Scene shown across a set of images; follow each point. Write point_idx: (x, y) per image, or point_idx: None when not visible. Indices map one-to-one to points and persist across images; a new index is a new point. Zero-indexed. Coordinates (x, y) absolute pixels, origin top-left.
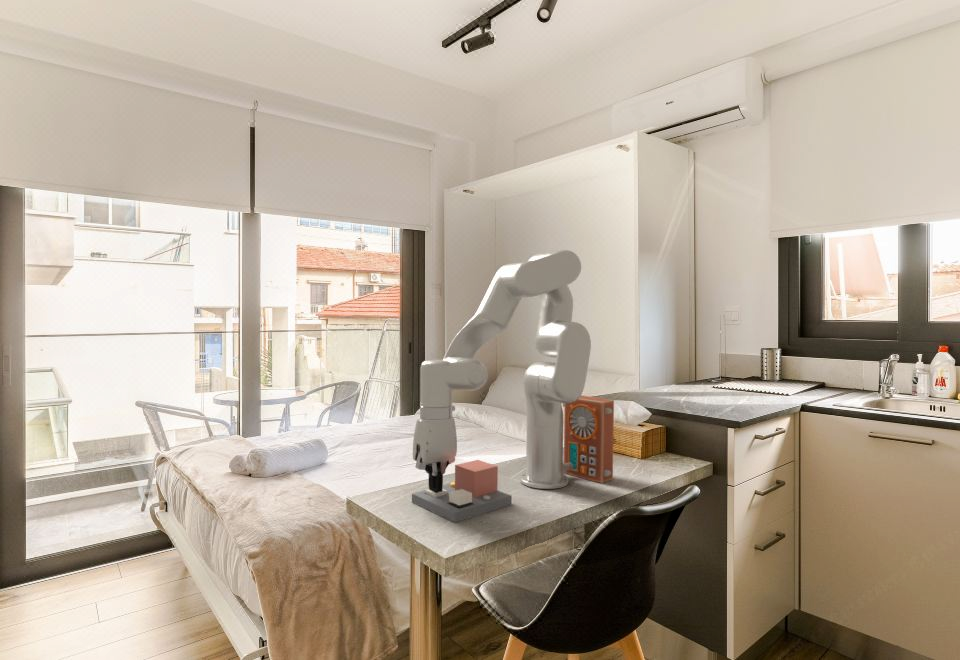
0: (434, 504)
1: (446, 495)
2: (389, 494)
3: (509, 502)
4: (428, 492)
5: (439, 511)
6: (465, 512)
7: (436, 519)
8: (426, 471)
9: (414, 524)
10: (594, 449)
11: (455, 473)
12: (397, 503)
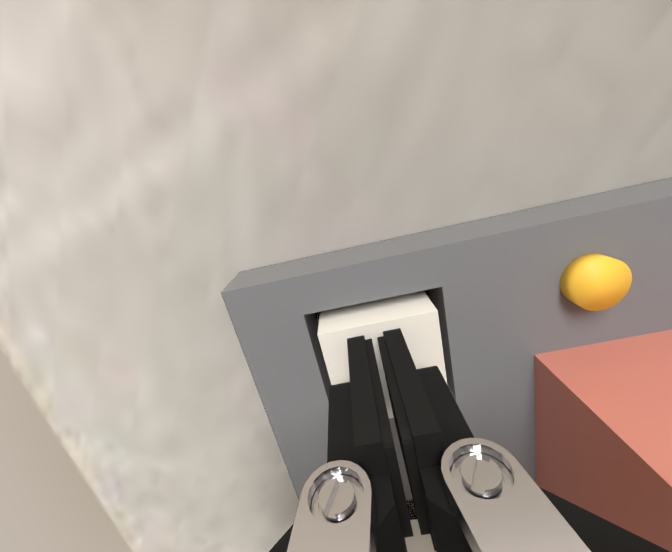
0: (296, 488)
1: None
2: (116, 23)
3: None
4: (326, 362)
5: None
6: None
7: (281, 502)
8: (282, 549)
9: (179, 507)
10: None
11: (645, 470)
12: (148, 249)
